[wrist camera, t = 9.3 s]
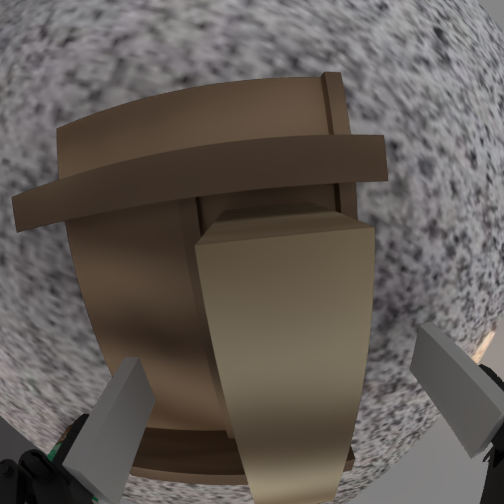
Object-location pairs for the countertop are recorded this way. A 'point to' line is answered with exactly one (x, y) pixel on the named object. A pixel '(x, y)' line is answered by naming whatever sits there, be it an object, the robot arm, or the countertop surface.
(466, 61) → the countertop surface
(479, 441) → the robot arm
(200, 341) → the wooden slatted panel
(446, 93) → the countertop surface
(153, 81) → the countertop surface
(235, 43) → the countertop surface
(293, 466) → the tan rectangular block
